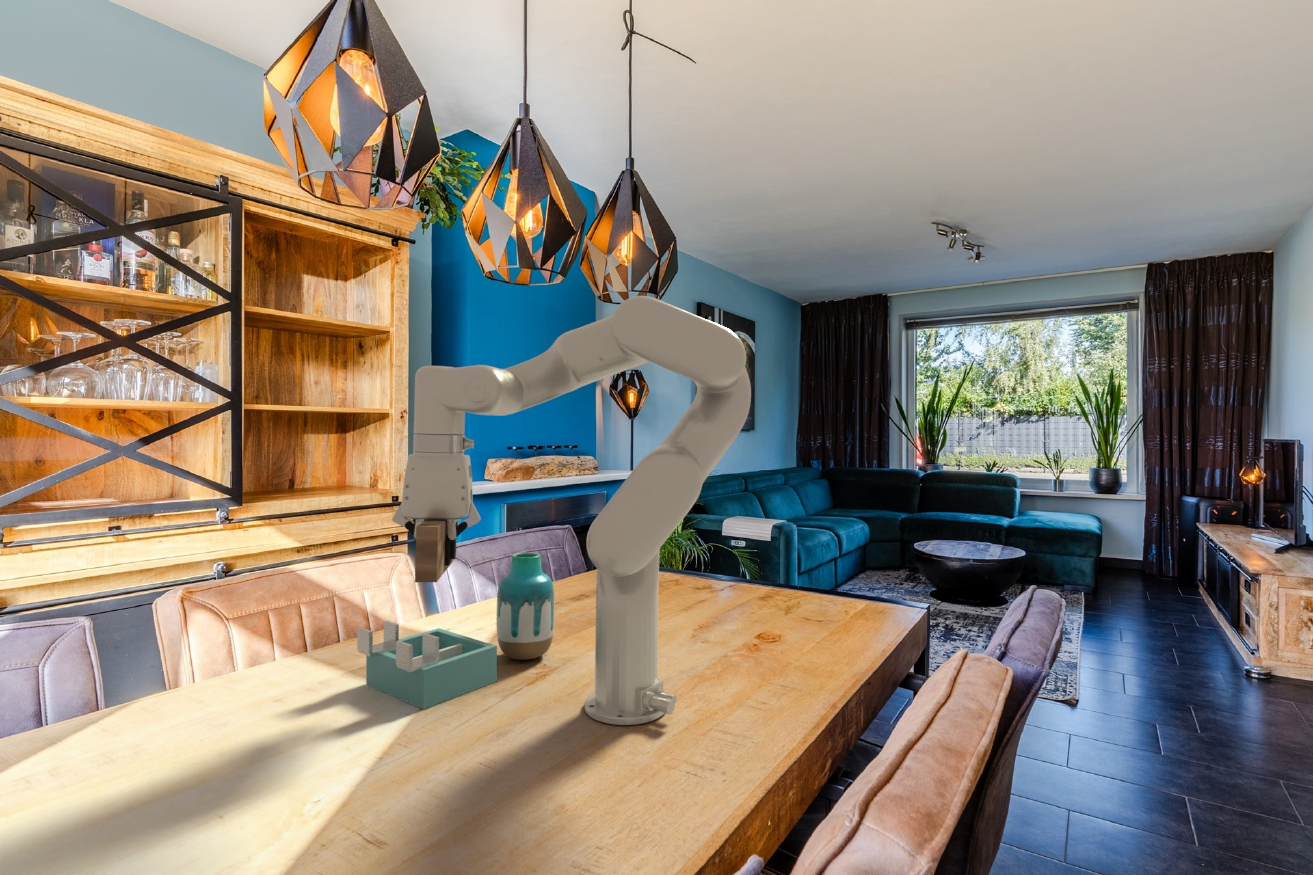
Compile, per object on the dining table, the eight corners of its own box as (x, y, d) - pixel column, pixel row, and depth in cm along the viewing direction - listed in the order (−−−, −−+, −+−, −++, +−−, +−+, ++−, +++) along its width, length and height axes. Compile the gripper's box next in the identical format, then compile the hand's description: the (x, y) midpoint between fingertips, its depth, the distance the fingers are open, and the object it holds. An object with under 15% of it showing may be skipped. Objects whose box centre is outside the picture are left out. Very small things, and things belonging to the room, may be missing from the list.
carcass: (496, 681, 111) (496, 645, 111) (423, 709, 100) (423, 669, 100) (438, 660, 120) (439, 628, 120) (366, 684, 109) (366, 648, 109)
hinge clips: (439, 662, 103) (439, 637, 103) (409, 672, 98) (409, 646, 98) (386, 644, 111) (386, 620, 111) (357, 652, 107) (357, 627, 107)
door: (435, 560, 110) (436, 512, 110) (453, 560, 111) (455, 512, 111) (414, 582, 94) (416, 526, 94) (436, 582, 95) (438, 526, 95)
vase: (483, 661, 121) (484, 556, 120) (521, 644, 130) (522, 547, 130) (530, 671, 116) (530, 562, 115) (565, 653, 125) (566, 552, 125)
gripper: (495, 446, 107) (492, 559, 108) (390, 444, 105) (387, 559, 105) (490, 448, 100) (487, 569, 100) (377, 445, 97) (374, 569, 98)
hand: (436, 562), depth 103 cm, fingers closed on door, 3 cm apart
